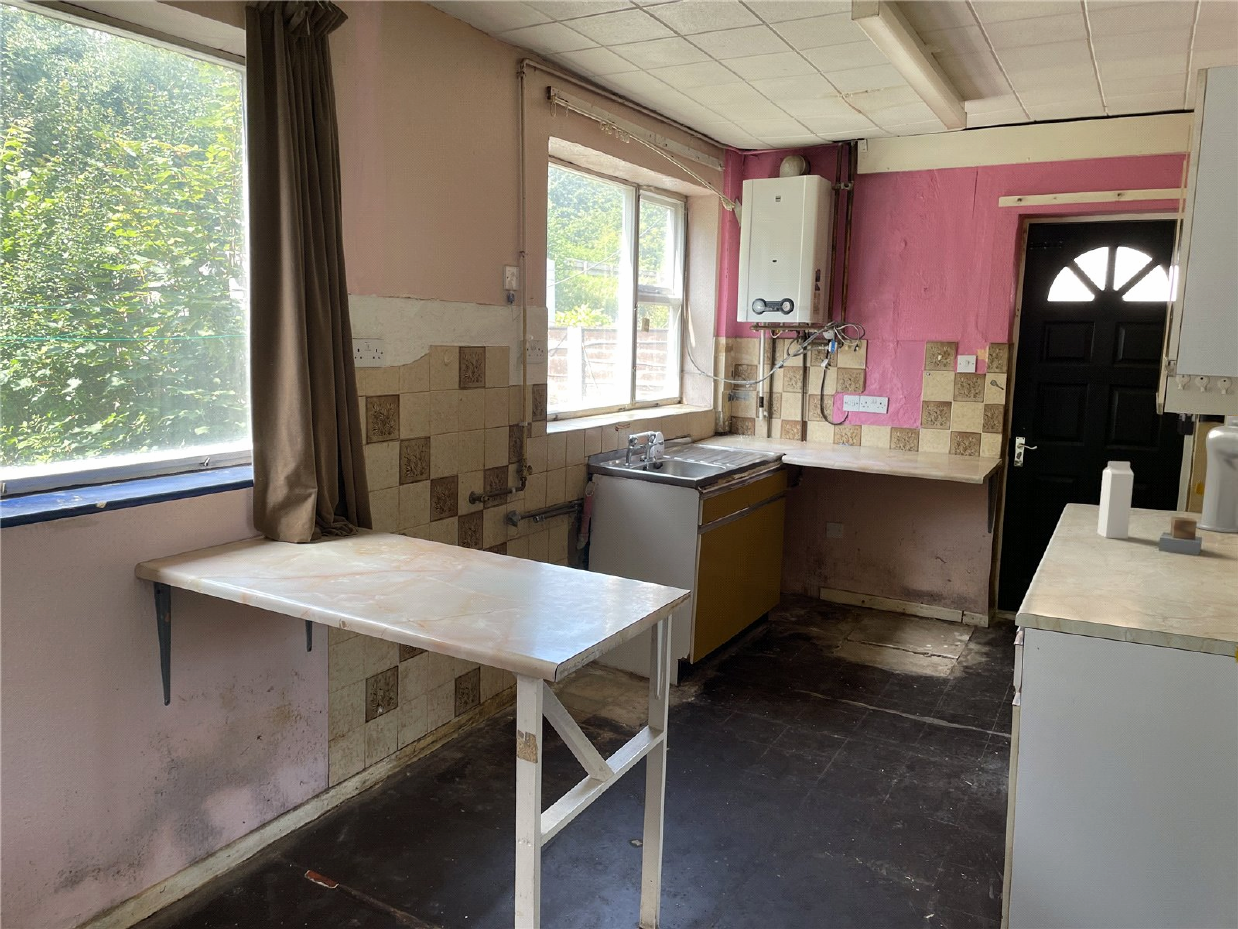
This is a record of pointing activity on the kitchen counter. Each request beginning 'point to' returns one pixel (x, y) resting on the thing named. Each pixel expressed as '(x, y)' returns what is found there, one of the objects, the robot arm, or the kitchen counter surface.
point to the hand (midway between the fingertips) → (1185, 433)
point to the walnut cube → (1183, 528)
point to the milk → (1115, 500)
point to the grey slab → (1180, 544)
